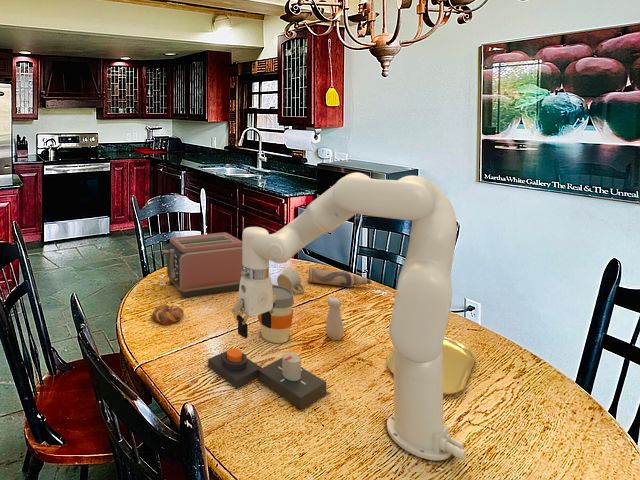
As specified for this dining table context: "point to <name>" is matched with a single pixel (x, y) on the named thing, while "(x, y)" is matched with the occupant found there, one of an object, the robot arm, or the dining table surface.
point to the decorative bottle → (335, 277)
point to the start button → (234, 355)
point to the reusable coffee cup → (279, 316)
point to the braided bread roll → (167, 314)
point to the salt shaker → (334, 319)
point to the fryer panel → (293, 384)
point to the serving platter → (450, 365)
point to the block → (234, 369)
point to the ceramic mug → (290, 280)
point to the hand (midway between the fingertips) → (254, 330)
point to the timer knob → (291, 366)
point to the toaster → (204, 263)
